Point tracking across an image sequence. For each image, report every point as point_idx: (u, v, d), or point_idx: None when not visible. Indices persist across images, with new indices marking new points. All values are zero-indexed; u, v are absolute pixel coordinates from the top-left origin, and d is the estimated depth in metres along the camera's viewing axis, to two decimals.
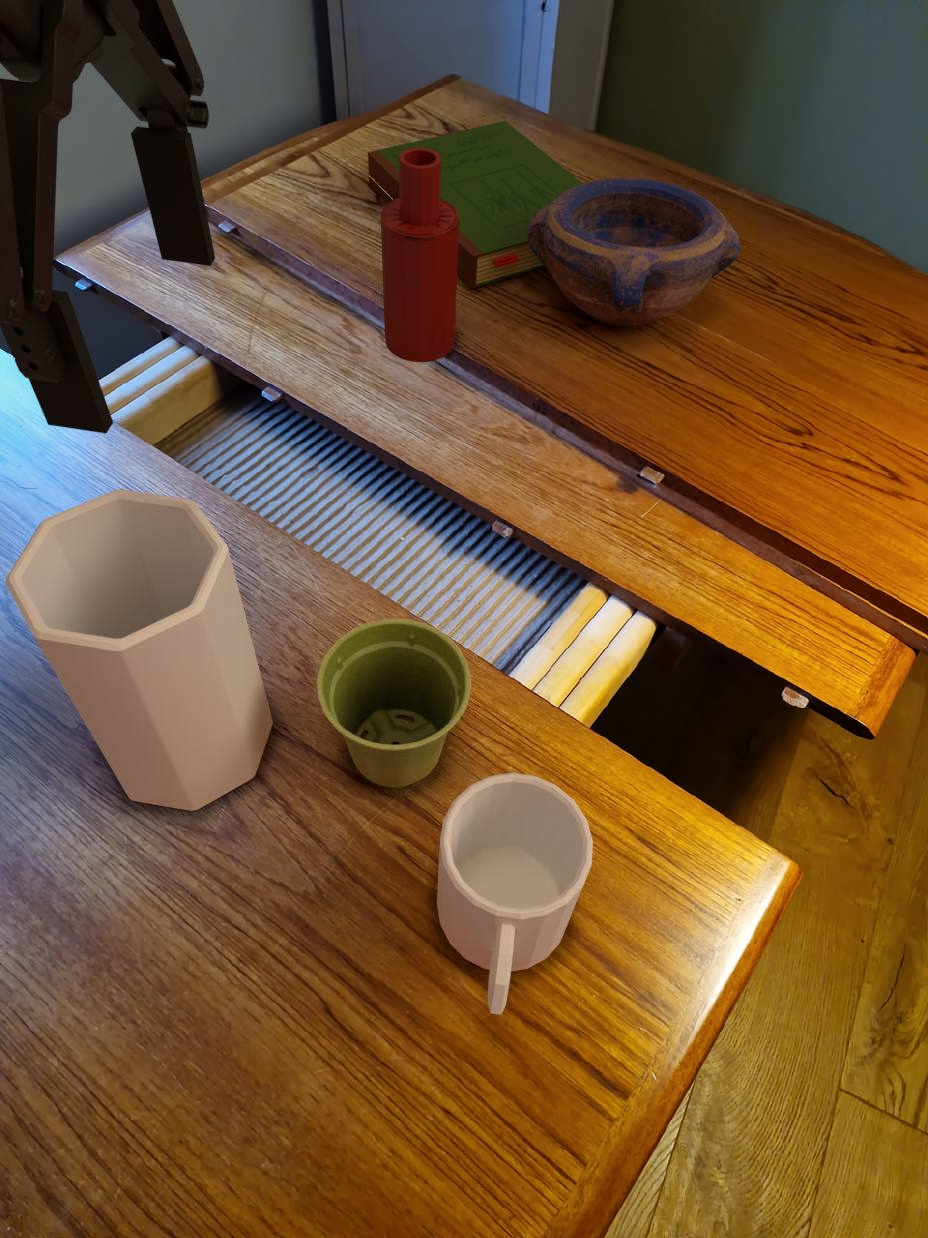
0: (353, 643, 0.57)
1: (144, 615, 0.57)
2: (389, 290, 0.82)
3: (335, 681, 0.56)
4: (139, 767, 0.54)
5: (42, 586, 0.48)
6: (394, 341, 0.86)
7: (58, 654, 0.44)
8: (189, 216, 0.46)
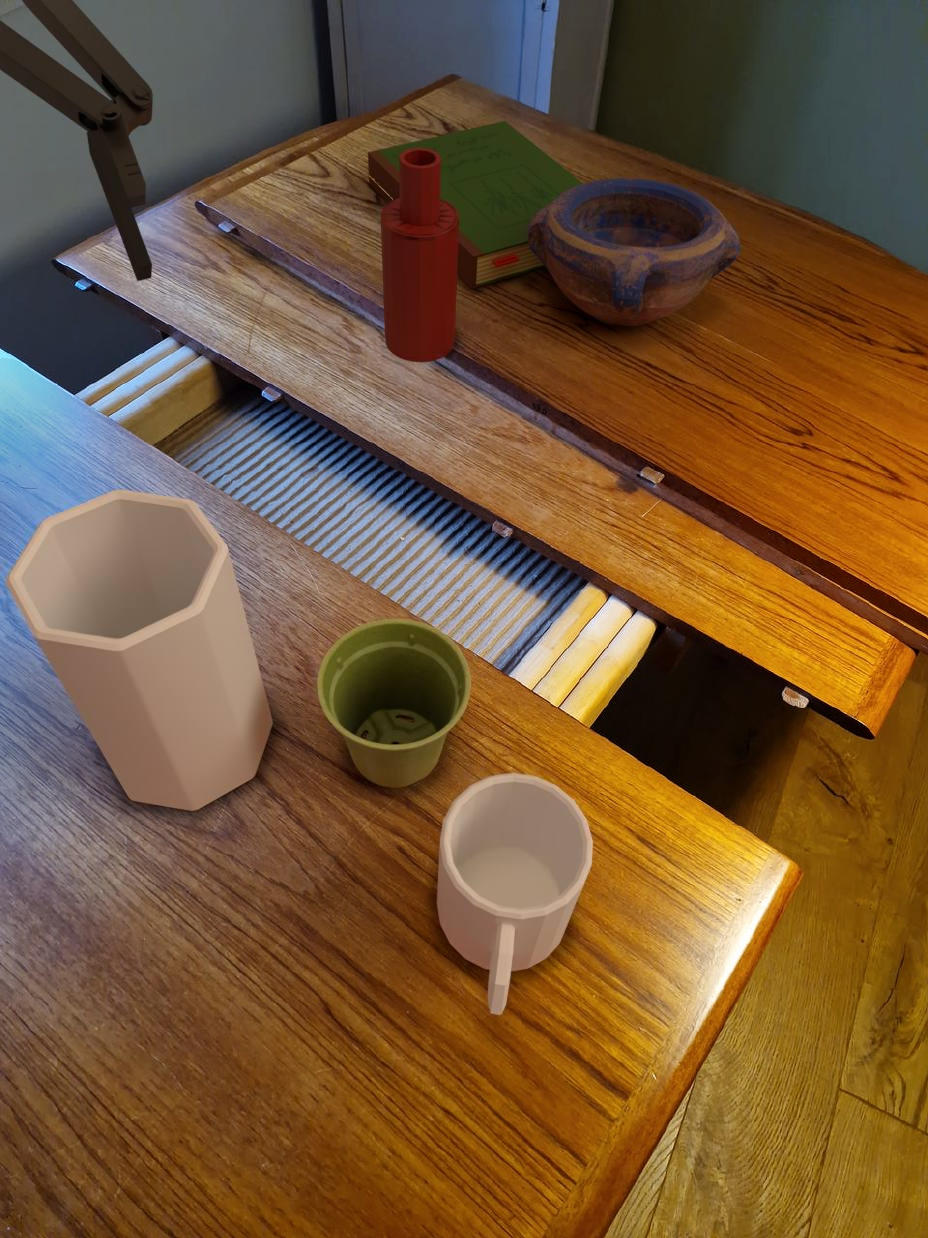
0: (353, 643, 0.57)
1: (144, 615, 0.57)
2: (389, 290, 0.82)
3: (335, 681, 0.56)
4: (139, 767, 0.54)
5: (42, 586, 0.48)
6: (394, 341, 0.86)
7: (58, 654, 0.44)
8: None
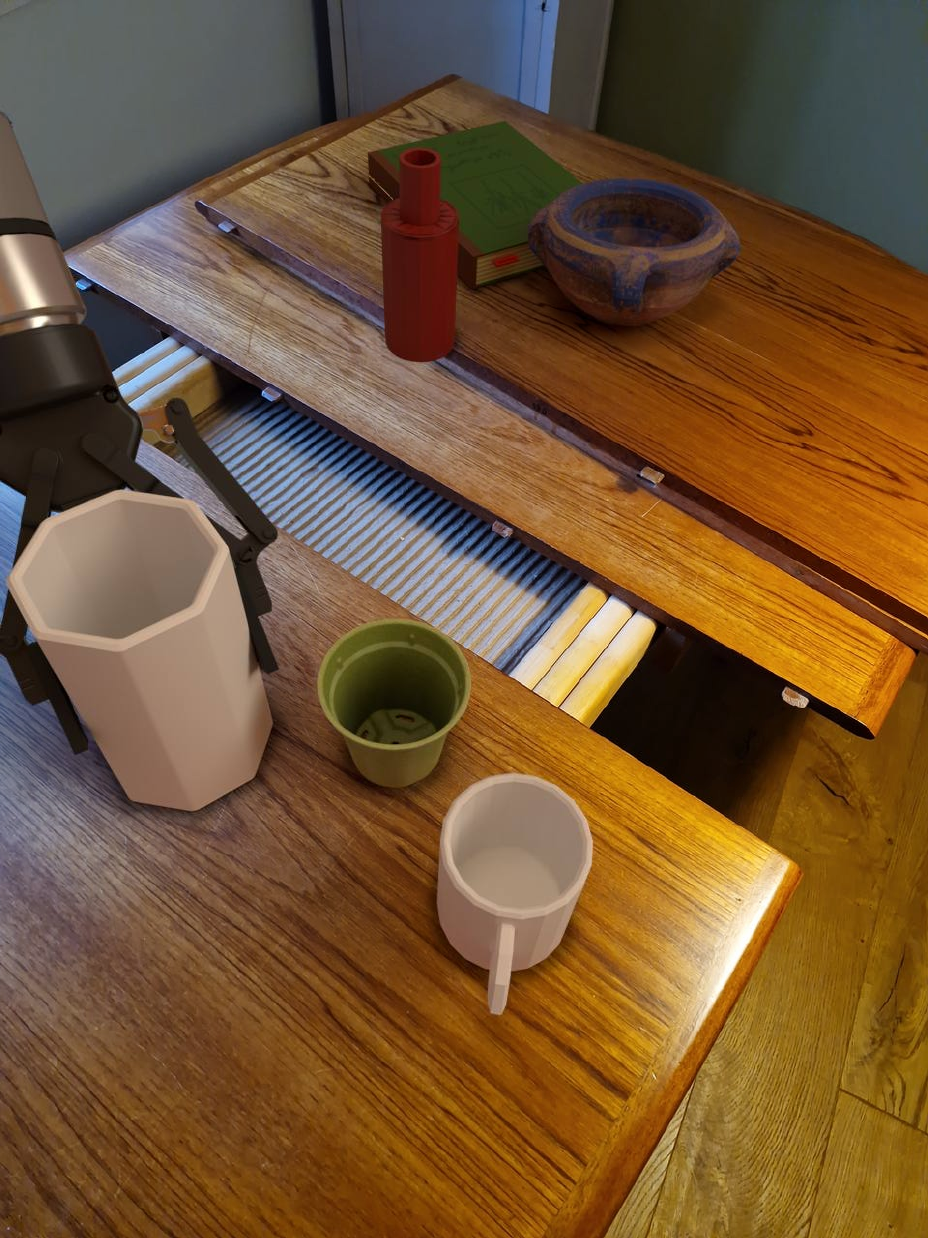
0: (353, 643, 0.57)
1: (144, 615, 0.57)
2: (389, 290, 0.82)
3: (335, 681, 0.56)
4: (139, 767, 0.54)
5: (43, 586, 0.48)
6: (394, 341, 0.86)
7: (59, 655, 0.44)
8: (70, 701, 0.52)
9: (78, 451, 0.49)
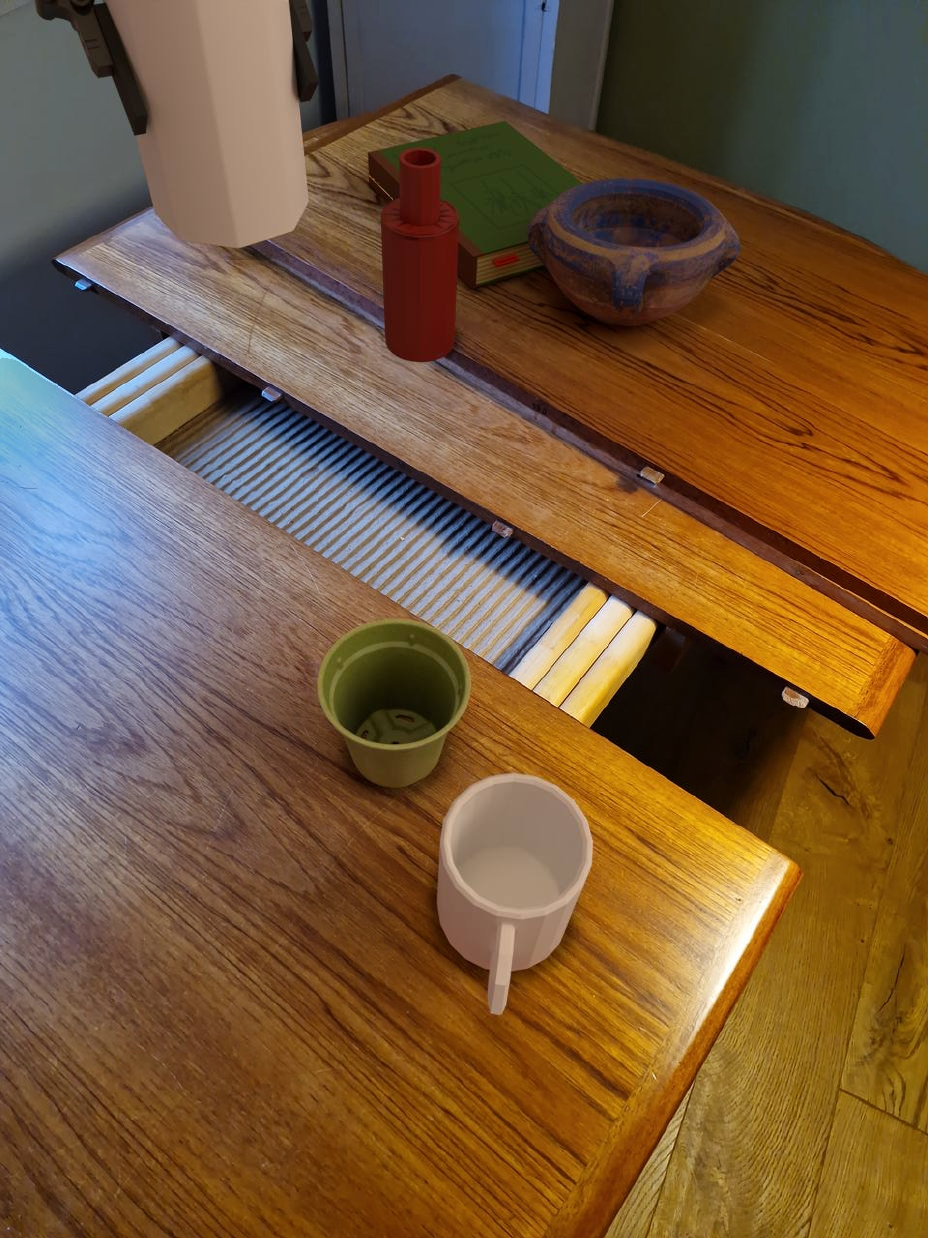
0: (353, 643, 0.57)
1: None
2: (389, 290, 0.82)
3: (335, 681, 0.56)
4: (191, 169, 0.59)
5: None
6: (394, 341, 0.86)
7: None
8: None
9: None
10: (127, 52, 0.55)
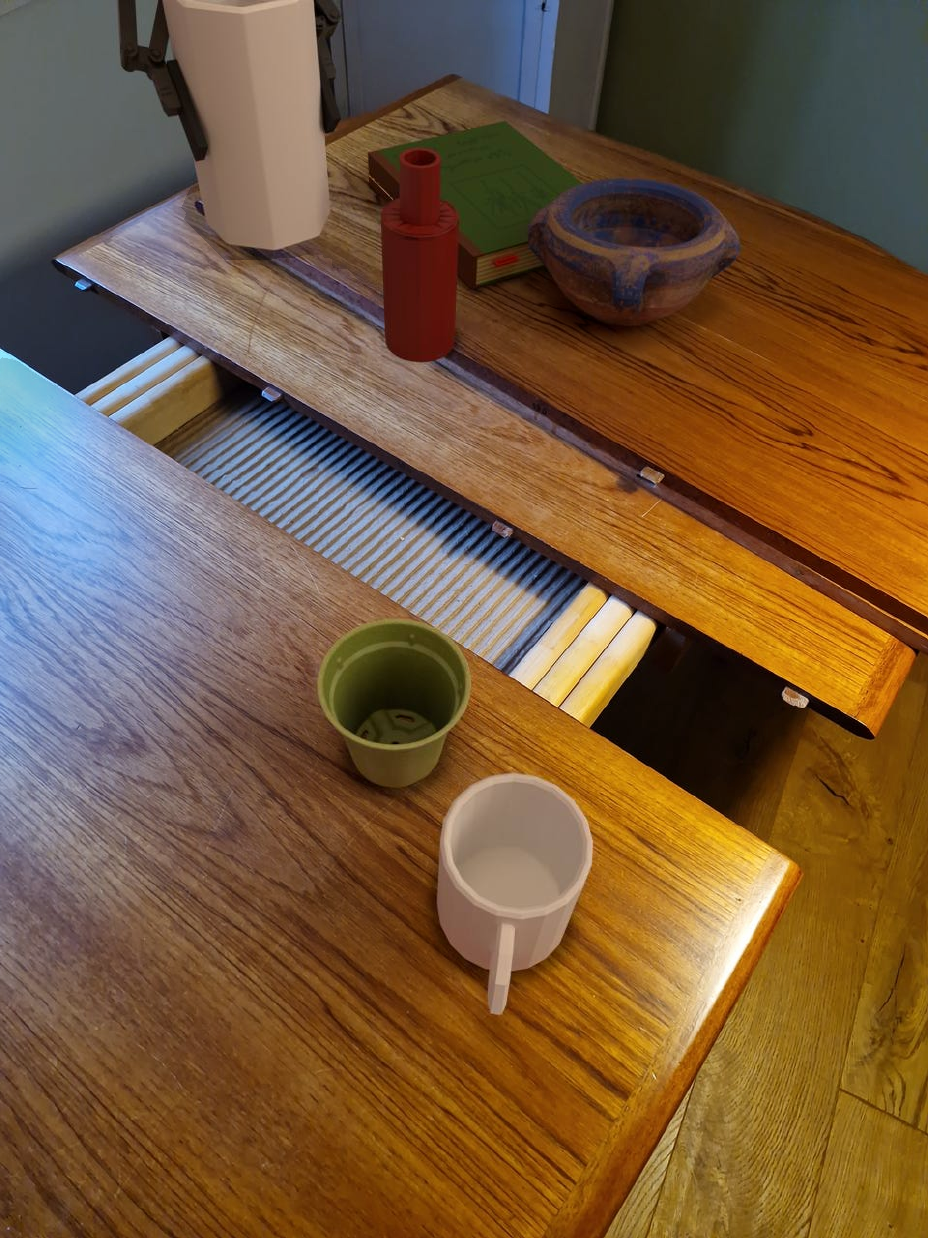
0: (353, 643, 0.57)
1: None
2: (389, 290, 0.82)
3: (335, 681, 0.56)
4: (239, 187, 0.74)
5: None
6: (394, 341, 0.86)
7: (199, 27, 0.65)
8: None
9: None
10: (192, 97, 0.70)
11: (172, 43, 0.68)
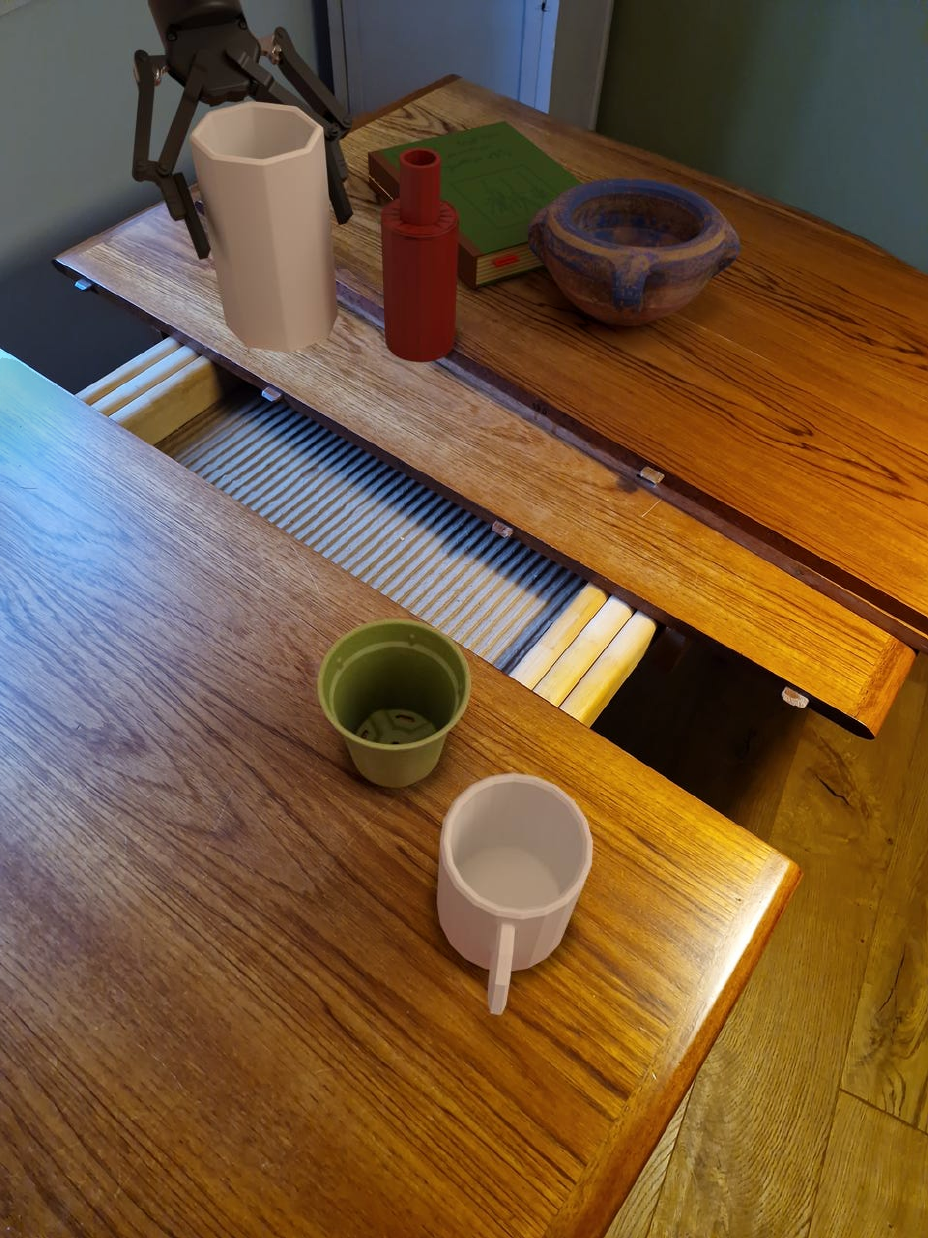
0: (353, 643, 0.57)
1: None
2: (389, 290, 0.82)
3: (335, 681, 0.56)
4: (258, 302, 0.82)
5: None
6: (394, 341, 0.86)
7: (224, 175, 0.73)
8: None
9: (222, 57, 0.77)
10: (216, 227, 0.78)
11: (199, 182, 0.77)
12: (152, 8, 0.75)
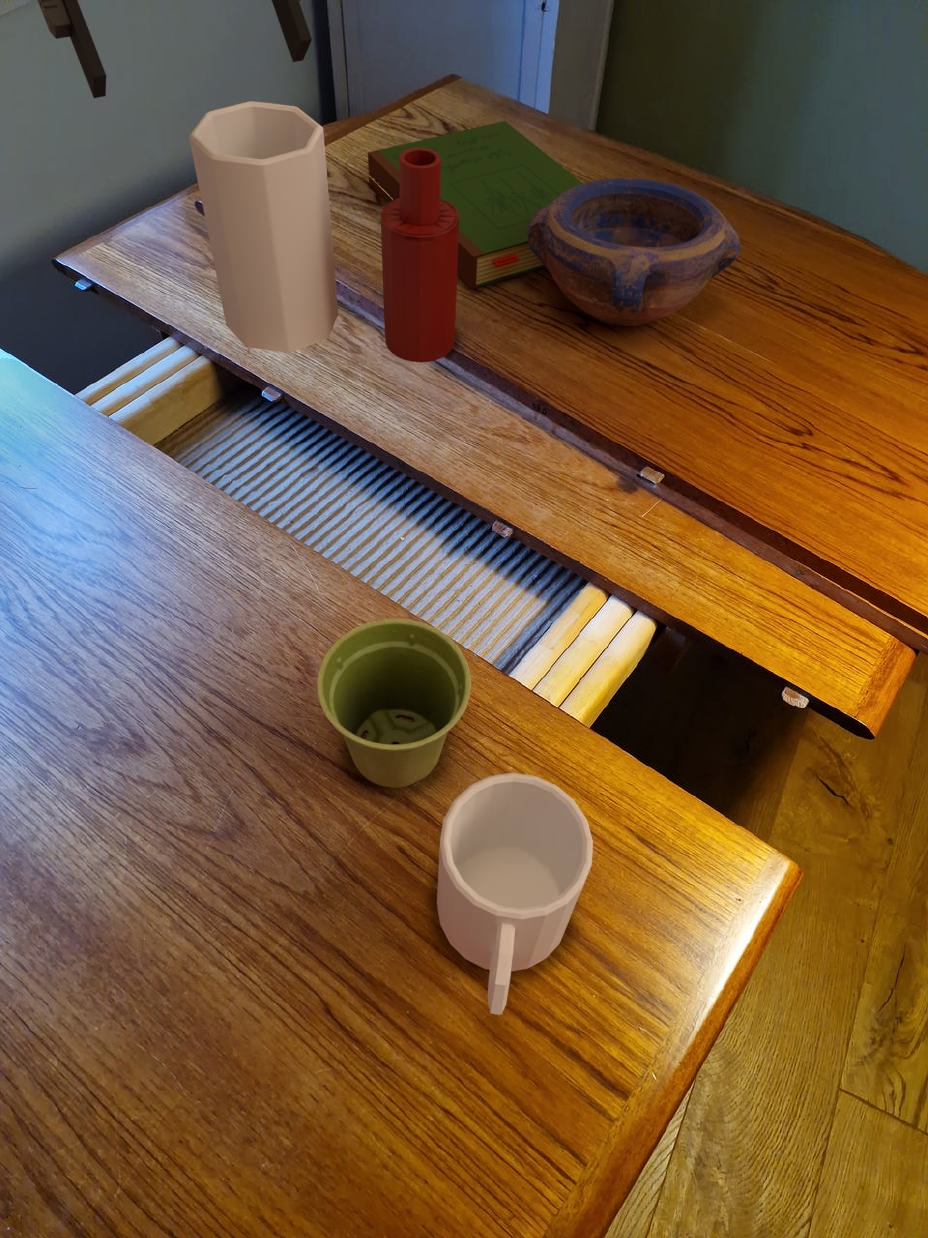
0: (353, 643, 0.57)
1: None
2: (389, 290, 0.82)
3: (335, 681, 0.56)
4: (258, 302, 0.82)
5: None
6: (394, 341, 0.86)
7: (224, 175, 0.73)
8: None
9: None
10: (216, 227, 0.78)
11: (199, 182, 0.77)
12: None
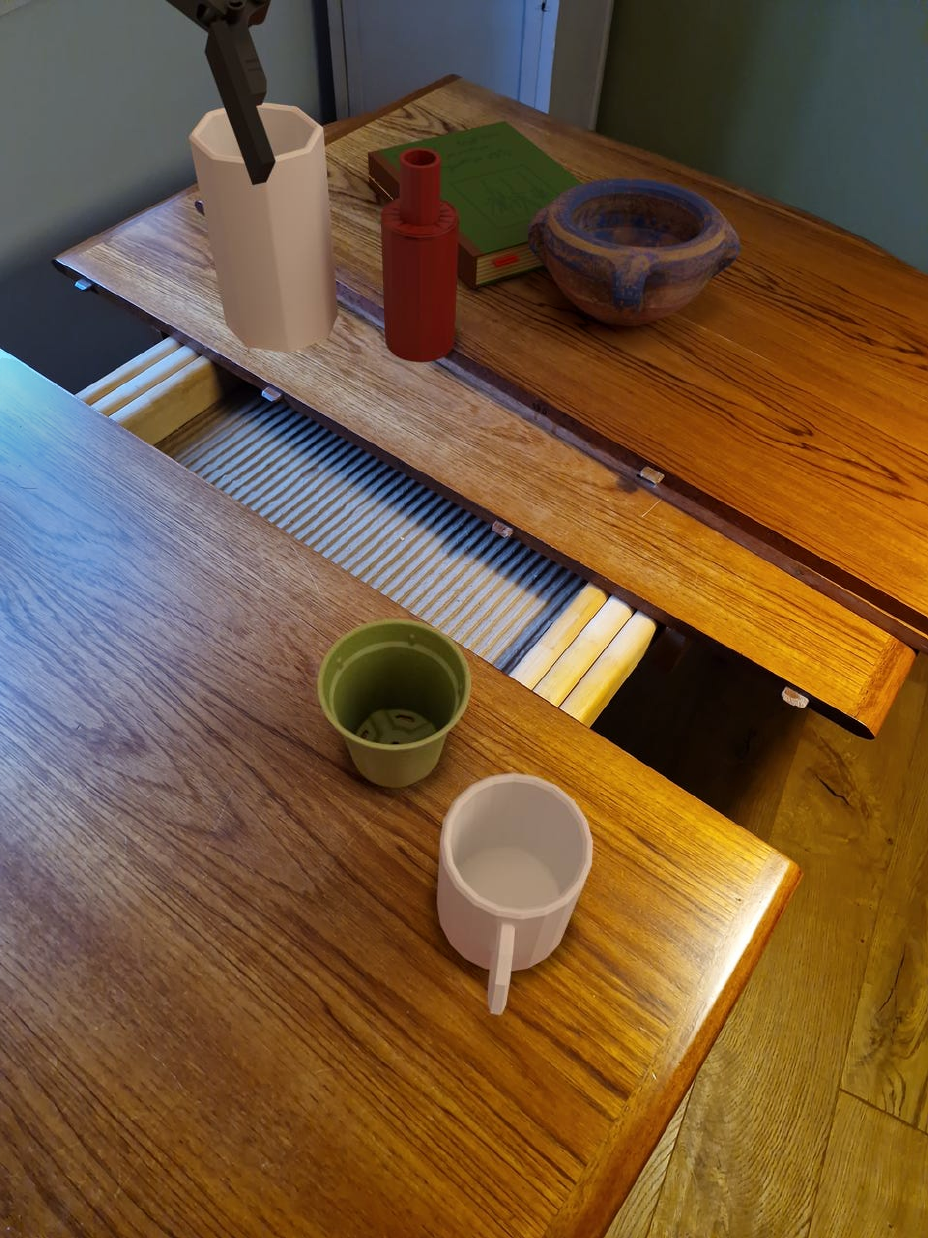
0: (353, 643, 0.57)
1: None
2: (389, 290, 0.82)
3: (335, 681, 0.56)
4: (258, 302, 0.82)
5: None
6: (394, 341, 0.86)
7: (224, 175, 0.73)
8: None
9: None
10: (216, 227, 0.78)
11: (199, 182, 0.77)
12: None
